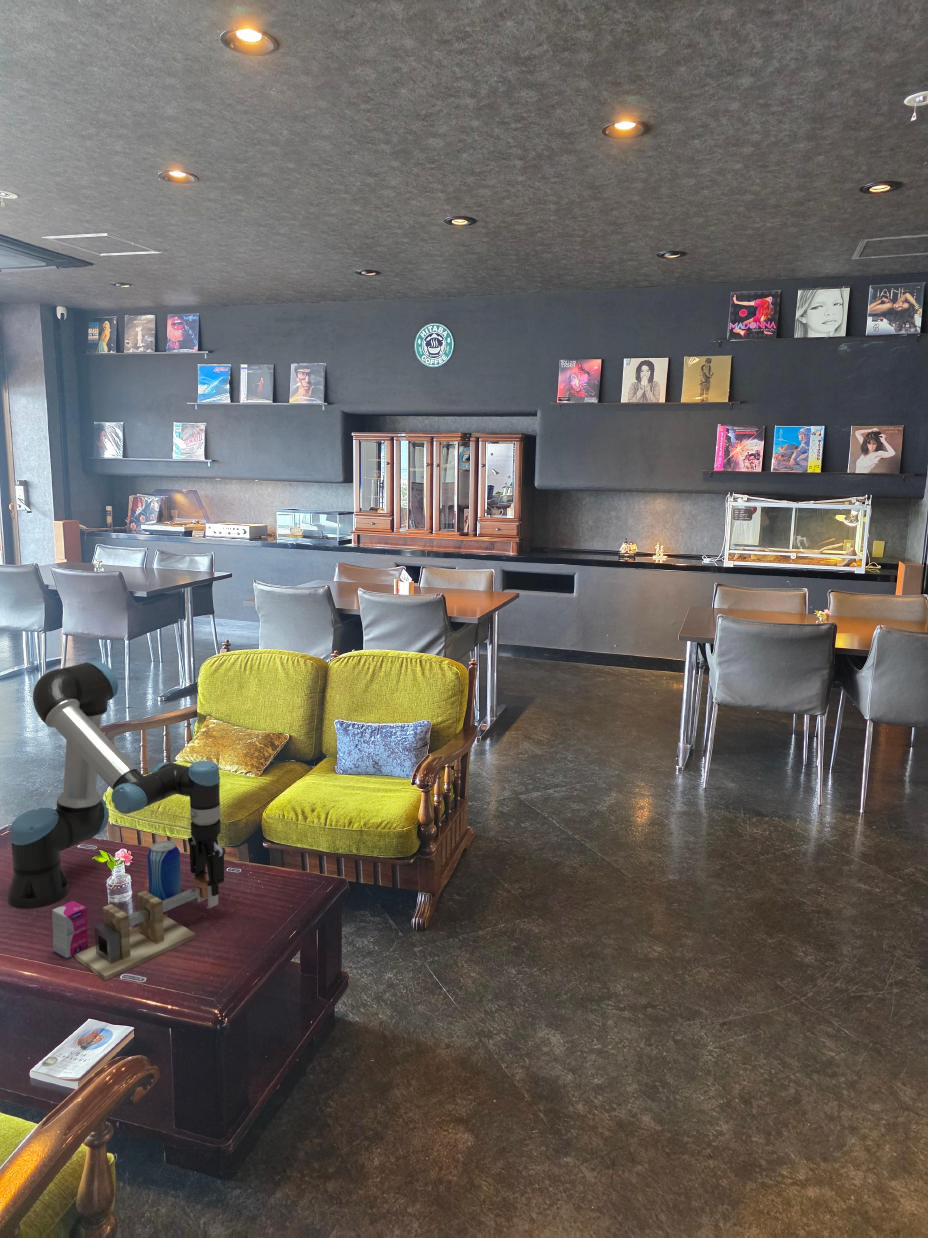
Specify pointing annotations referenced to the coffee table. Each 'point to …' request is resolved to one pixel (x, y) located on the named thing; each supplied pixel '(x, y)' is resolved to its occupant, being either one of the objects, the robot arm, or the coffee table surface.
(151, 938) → the bearing stand
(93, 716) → the robot arm
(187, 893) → the shaft
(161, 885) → the beer can
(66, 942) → the supplement box
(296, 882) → the coffee table surface
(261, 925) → the coffee table surface
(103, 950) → the spacer
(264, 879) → the coffee table surface
